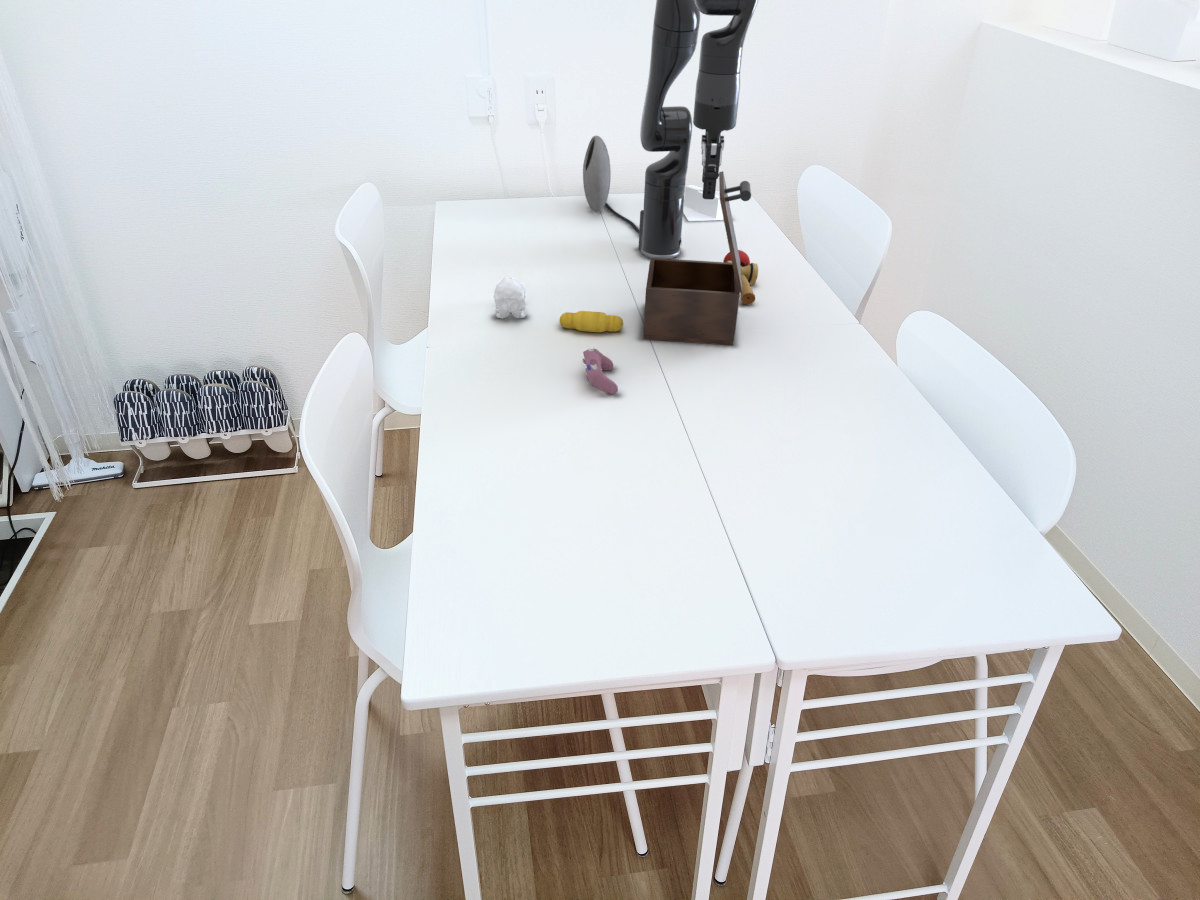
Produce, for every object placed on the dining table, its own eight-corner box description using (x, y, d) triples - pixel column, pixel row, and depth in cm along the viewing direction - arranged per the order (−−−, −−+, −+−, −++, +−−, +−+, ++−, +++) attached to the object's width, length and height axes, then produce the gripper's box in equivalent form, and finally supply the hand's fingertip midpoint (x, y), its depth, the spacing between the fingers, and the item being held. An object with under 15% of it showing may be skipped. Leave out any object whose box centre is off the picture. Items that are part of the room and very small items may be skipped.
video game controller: (593, 375, 163) (576, 346, 159) (615, 365, 162) (599, 336, 158) (597, 403, 155) (580, 373, 151) (620, 393, 154) (603, 363, 150)
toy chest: (642, 339, 172) (645, 288, 165) (647, 306, 184) (650, 257, 177) (733, 345, 170) (739, 294, 164) (732, 311, 182) (737, 263, 176)
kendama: (767, 309, 186) (752, 264, 199) (767, 285, 182) (751, 240, 195) (732, 315, 187) (718, 270, 200) (730, 291, 182) (717, 246, 195)
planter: (581, 197, 237) (581, 126, 226) (607, 197, 237) (609, 127, 226) (584, 222, 222) (584, 148, 211) (611, 222, 222) (614, 148, 211)
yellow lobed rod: (557, 333, 173) (557, 314, 171) (560, 323, 176) (560, 305, 174) (621, 337, 172) (622, 319, 170) (623, 327, 175) (624, 309, 173)
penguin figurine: (492, 283, 171) (496, 263, 181) (494, 323, 175) (497, 302, 185) (524, 283, 171) (526, 264, 181) (525, 323, 175) (527, 302, 186)
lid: (719, 198, 154) (750, 191, 153) (719, 172, 166) (747, 165, 165) (737, 292, 164) (766, 287, 163) (736, 261, 176) (762, 255, 175)
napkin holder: (731, 219, 226) (733, 198, 222) (688, 221, 224) (690, 199, 221) (715, 199, 238) (717, 178, 234) (675, 201, 236) (676, 180, 233)
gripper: (695, 87, 156) (687, 177, 165) (695, 107, 144) (687, 203, 154) (737, 89, 155) (727, 179, 165) (740, 109, 144) (729, 205, 153)
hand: (708, 190), depth 159 cm, fingers open, 8 cm apart
